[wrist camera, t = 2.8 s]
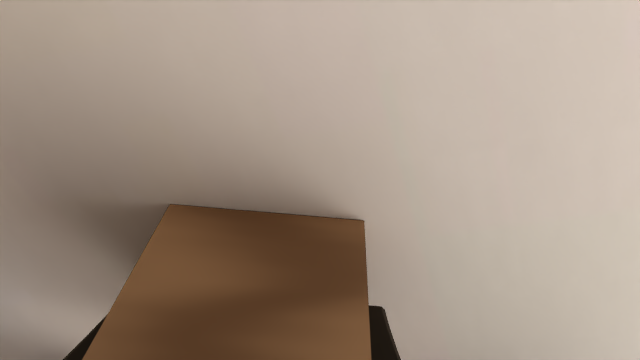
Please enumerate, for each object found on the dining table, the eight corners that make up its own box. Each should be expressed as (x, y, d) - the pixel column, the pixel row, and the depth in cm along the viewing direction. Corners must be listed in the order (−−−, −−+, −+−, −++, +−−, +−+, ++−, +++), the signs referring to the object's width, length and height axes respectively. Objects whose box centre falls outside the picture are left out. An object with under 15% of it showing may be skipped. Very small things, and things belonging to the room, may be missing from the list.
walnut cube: (364, 220, 11) (375, 425, 7) (344, 338, 14) (343, 533, 9) (170, 204, 11) (59, 398, 7) (191, 325, 14) (123, 513, 9)
